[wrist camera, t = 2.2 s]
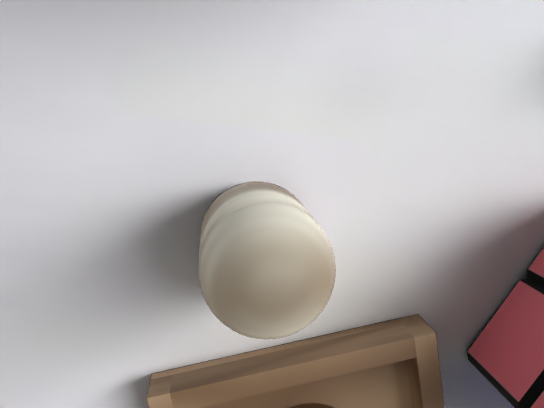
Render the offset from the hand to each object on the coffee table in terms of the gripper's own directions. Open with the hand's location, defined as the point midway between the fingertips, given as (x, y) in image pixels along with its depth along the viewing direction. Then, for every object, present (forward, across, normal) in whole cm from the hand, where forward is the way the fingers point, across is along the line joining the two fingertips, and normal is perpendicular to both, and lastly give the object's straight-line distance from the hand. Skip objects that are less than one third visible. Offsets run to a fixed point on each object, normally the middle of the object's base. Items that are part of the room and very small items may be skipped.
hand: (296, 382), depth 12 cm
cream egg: (+12, 0, 0) cm, 12 cm away
